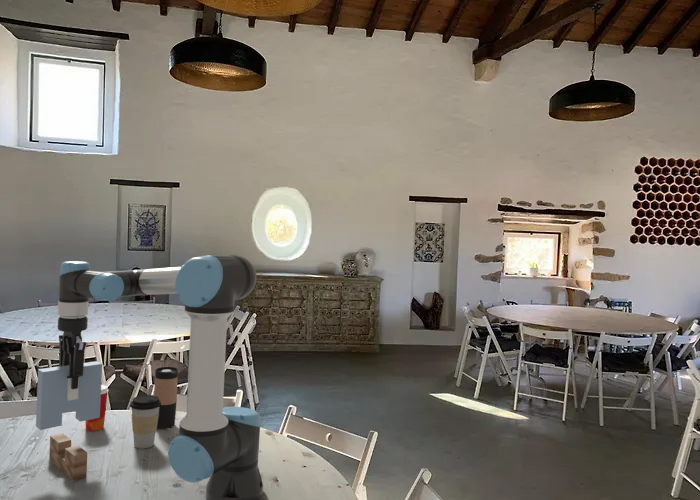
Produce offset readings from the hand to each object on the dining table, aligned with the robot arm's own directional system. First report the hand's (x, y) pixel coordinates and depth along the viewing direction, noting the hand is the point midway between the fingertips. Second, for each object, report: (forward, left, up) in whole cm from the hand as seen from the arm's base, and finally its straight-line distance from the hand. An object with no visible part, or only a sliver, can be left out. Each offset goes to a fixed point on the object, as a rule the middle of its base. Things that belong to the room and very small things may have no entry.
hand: (69, 397), depth 156 cm
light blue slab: (0, 0, -7) cm, 7 cm away
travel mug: (+13, -37, -21) cm, 44 cm away
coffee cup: (+2, -24, -21) cm, 32 cm away
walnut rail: (0, 0, -20) cm, 20 cm away
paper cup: (+25, -18, -21) cm, 37 cm away
